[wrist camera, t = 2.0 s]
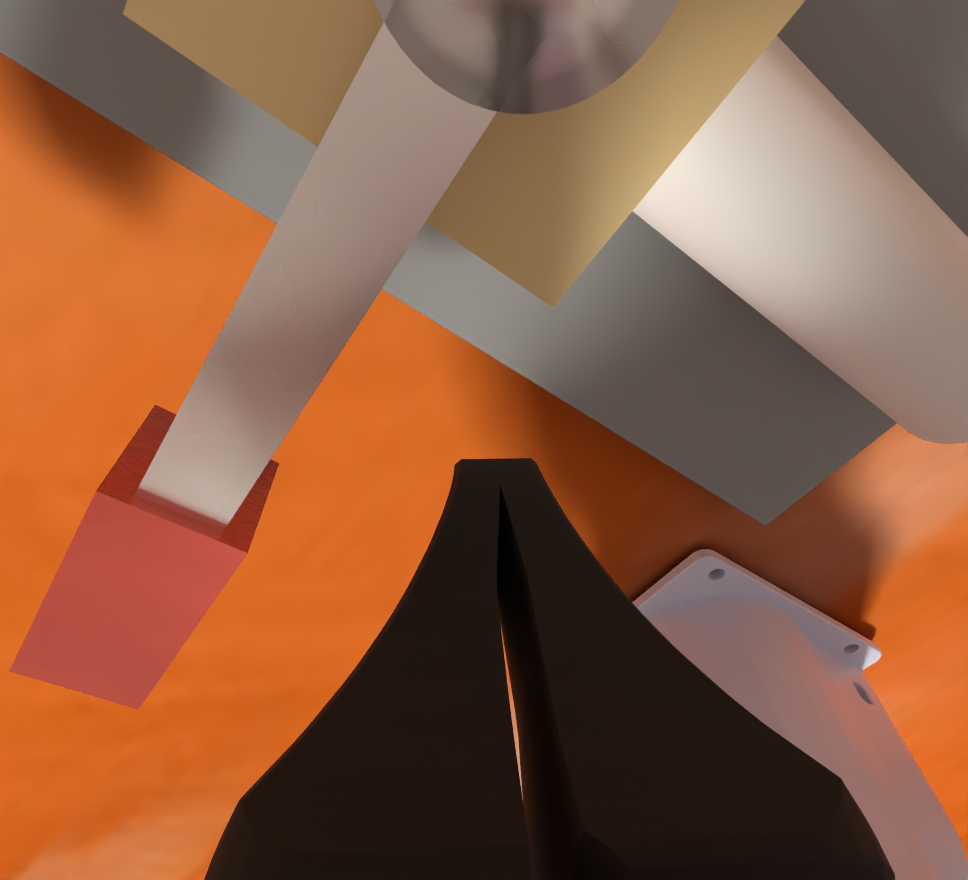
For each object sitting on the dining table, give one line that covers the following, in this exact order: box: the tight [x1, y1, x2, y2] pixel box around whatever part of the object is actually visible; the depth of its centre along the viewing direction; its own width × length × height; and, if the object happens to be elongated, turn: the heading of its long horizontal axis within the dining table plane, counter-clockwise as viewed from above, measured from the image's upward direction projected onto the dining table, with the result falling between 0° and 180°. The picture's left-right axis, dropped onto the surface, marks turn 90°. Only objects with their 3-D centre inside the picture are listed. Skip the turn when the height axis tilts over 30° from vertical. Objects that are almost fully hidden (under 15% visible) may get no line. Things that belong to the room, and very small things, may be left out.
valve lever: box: [9, 0, 679, 709], centre depth 8 cm, size 3×13×2 cm, turn 144°
